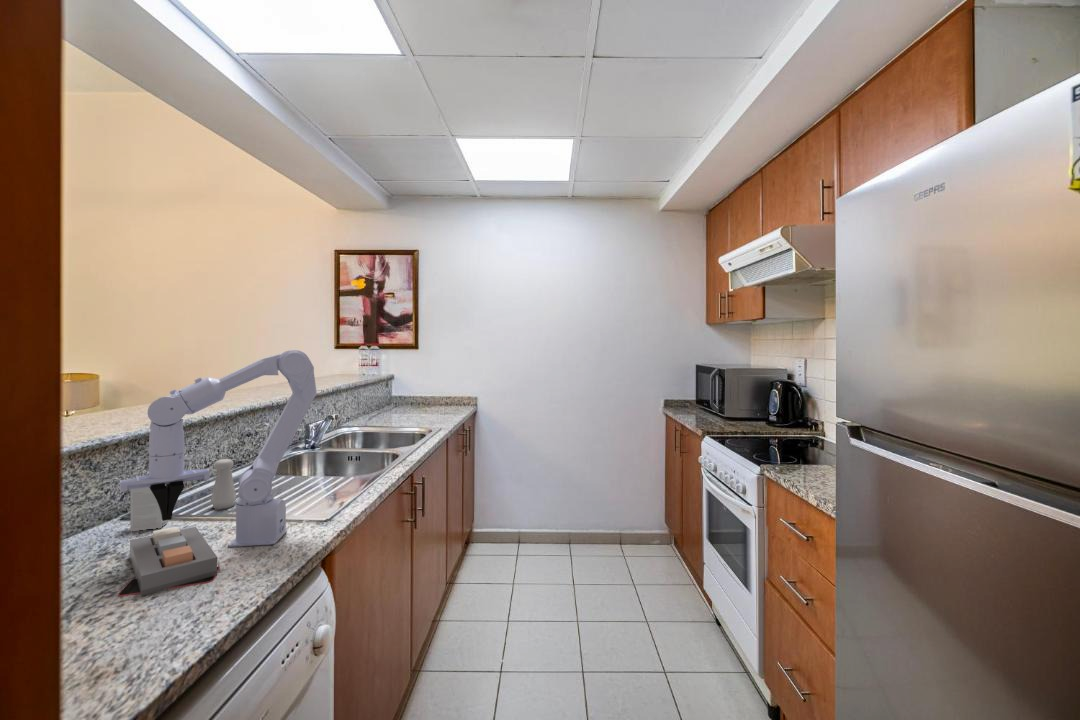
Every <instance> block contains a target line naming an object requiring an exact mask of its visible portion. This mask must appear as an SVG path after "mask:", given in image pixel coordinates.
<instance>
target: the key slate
mask: <svg viewBox="0 0 1080 720" xmlns="http://www.w3.org/2000/svg"><path fill="white" fill-rule="evenodd" d="M183 546H186V540H185V538H184V536H183V535H182V536H177V537H172V538H168V539H163V540H158V555H162V551H166V550H170V549H175V548H179V547H183Z"/></svg>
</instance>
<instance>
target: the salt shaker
mask: <svg viewBox="0 0 1080 720" xmlns="http://www.w3.org/2000/svg"><path fill="white" fill-rule="evenodd" d="M233 467H234V460H232V459H231V458H223V459H218V460H216V461H215V462H214V469H215V470H217V472H216V476H215V481H214V485H213V489H212V493H211V496H210V497H211V498H210V502H211V504H212V506H213V508H214V510H227V509H230V508H231V507H234V505H235V503H236V500H237V493H236V487H235V483H234V477H233V474H232V473H233V472H232V468H233Z"/></svg>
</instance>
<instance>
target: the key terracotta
mask: <svg viewBox="0 0 1080 720" xmlns="http://www.w3.org/2000/svg"><path fill="white" fill-rule="evenodd" d="M192 560H193V551H192V549H191V548H190V546H189V545H188V546H183V547H179V548H175V549H170V550H166V551H162V565H163V567H168V566H172V565H176V564H180V563H184V562H188V561H192Z"/></svg>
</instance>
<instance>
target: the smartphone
mask: <svg viewBox="0 0 1080 720" xmlns="http://www.w3.org/2000/svg"><path fill="white" fill-rule="evenodd" d="M220 570H221V568H220V566H217V575H218V573H219V572H220ZM216 577H217V576H216V575H215V576H211V577H208V578H204V579H200V580H197V581H193V582H190V583H186V584H182V585H179V586H175V587H171V588H168V589H166V590H171V589H178V588H179V589H180V588H185V587H192V586H197V585H205V584H208V583H212V582H213V581H215V579H216ZM166 590H165V591H166ZM134 595H141V594H140V590H139V586H138V583H137V579H136V577H134V578H133V579H131V580H130V581H129V582H128V583H127V584H126V585H124V587H123V588H122V589H121V590H120V591H119V592H118V594H117V597H121V598H122V597H128V596H134Z"/></svg>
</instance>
